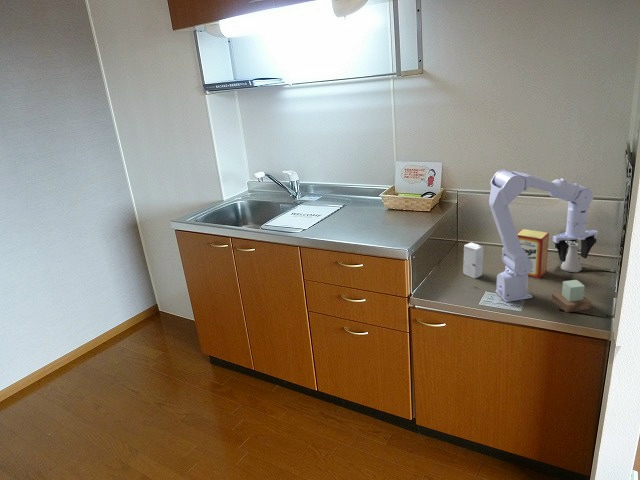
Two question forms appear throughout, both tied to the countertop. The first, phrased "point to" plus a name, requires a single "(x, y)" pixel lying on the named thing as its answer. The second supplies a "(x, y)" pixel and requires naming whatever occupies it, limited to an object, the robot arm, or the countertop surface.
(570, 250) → the flask
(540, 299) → the countertop surface
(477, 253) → the skincare box
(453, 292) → the countertop surface
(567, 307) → the walnut block
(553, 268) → the countertop surface
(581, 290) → the sage block
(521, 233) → the baking soda box
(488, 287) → the countertop surface
